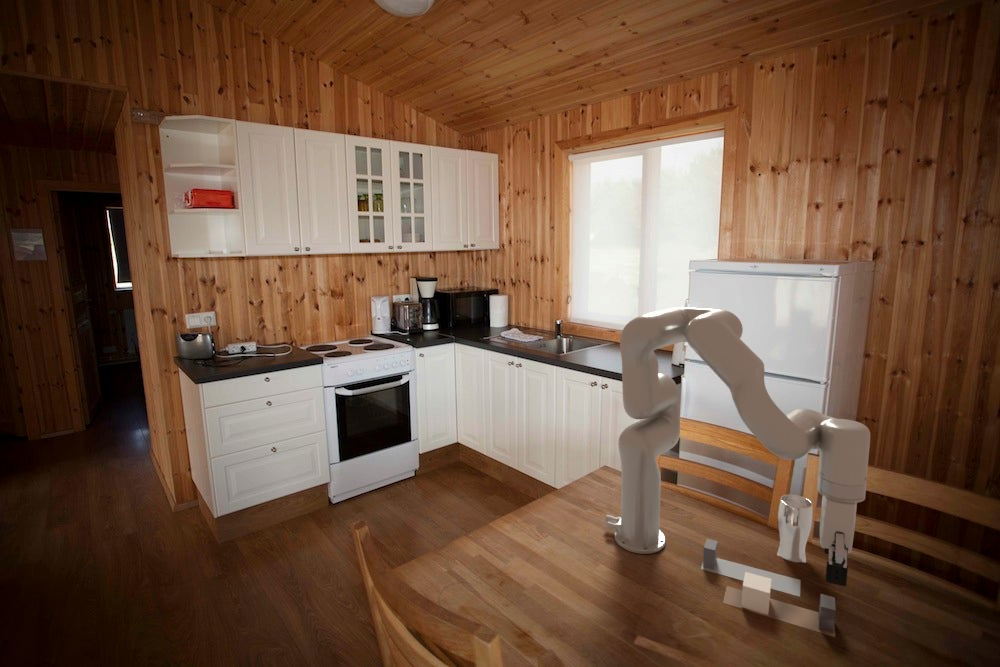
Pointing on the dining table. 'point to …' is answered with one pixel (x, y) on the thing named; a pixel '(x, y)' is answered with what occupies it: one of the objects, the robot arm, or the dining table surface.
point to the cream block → (756, 593)
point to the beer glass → (794, 527)
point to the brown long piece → (793, 612)
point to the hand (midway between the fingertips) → (834, 568)
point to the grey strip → (745, 570)
